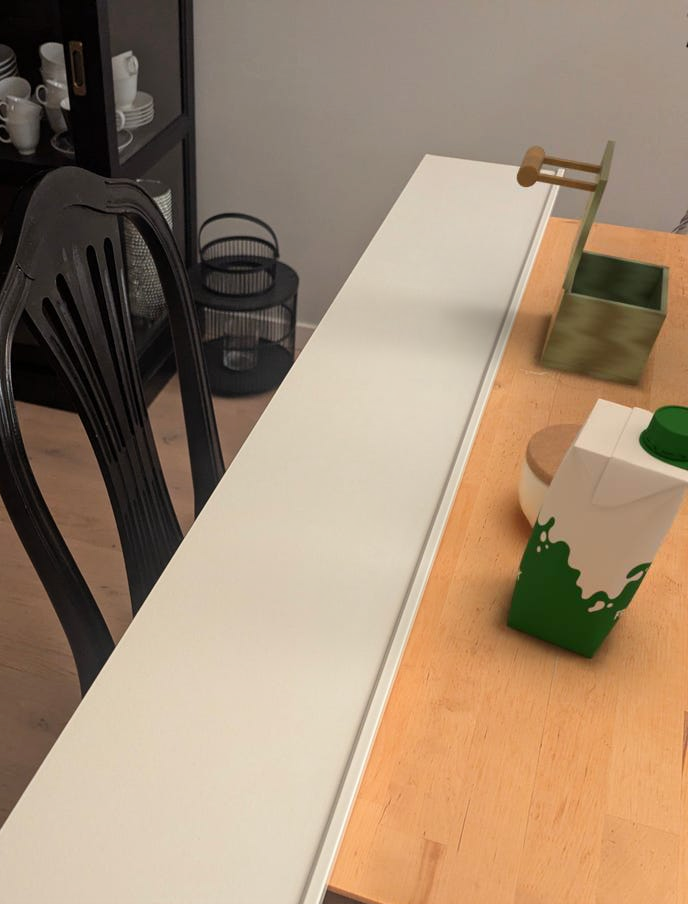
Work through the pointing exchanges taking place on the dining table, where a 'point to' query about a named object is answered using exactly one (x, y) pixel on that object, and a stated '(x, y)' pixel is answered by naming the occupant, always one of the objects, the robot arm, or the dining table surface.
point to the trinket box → (543, 465)
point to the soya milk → (601, 524)
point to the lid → (531, 174)
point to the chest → (608, 318)
